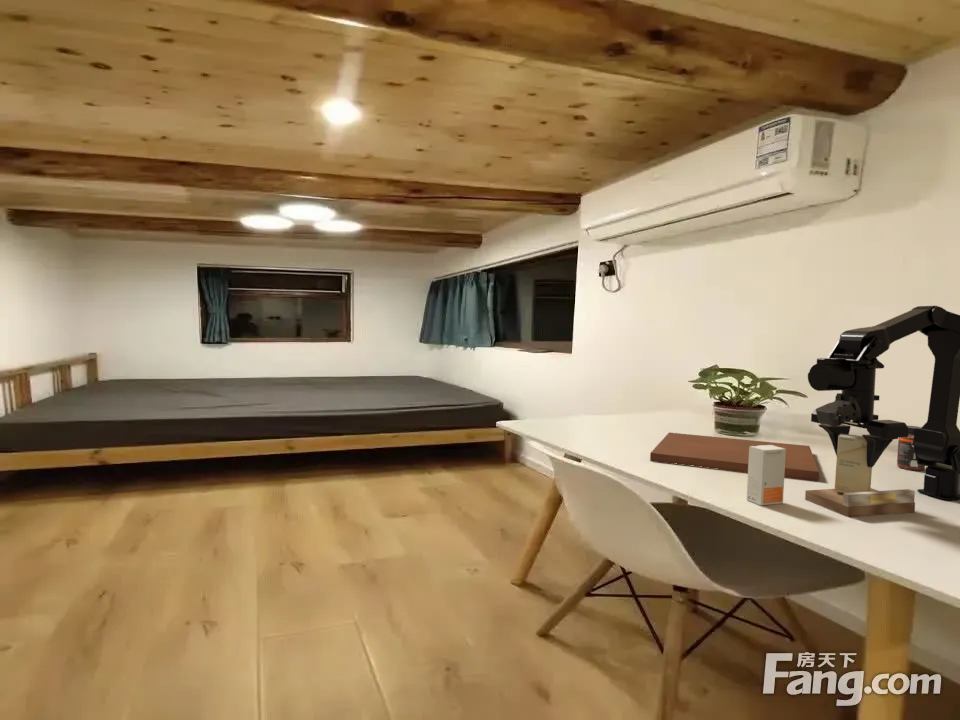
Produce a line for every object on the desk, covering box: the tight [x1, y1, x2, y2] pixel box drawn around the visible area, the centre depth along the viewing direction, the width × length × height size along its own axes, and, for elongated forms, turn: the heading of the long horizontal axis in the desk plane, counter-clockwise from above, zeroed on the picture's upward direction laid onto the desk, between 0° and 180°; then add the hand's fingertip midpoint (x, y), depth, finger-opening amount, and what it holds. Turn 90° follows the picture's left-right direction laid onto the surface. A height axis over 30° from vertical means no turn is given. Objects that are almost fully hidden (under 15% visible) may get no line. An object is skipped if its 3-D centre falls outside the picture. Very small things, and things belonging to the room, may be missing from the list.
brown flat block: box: [804, 487, 916, 518], centre depth 115 cm, size 16×11×4 cm
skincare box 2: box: [834, 433, 873, 493], centre depth 116 cm, size 6×4×12 cm
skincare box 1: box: [746, 445, 786, 506], centre depth 117 cm, size 6×4×12 cm
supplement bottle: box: [896, 425, 926, 472], centre depth 146 cm, size 6×6×11 cm
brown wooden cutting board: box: [649, 432, 820, 482], centre depth 157 cm, size 40×3×33 cm
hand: (854, 462), depth 116 cm, fingers closed on skincare box 2, 7 cm apart
